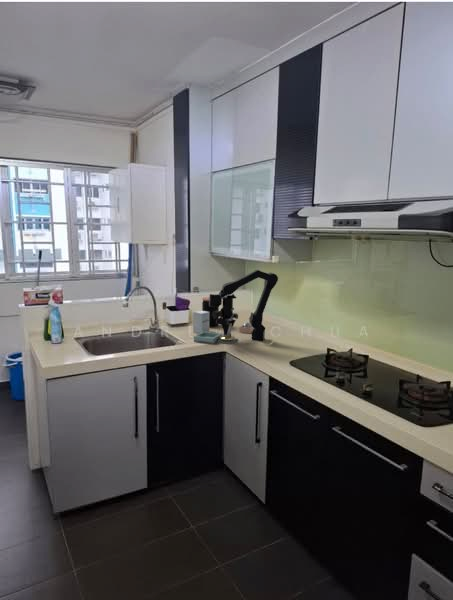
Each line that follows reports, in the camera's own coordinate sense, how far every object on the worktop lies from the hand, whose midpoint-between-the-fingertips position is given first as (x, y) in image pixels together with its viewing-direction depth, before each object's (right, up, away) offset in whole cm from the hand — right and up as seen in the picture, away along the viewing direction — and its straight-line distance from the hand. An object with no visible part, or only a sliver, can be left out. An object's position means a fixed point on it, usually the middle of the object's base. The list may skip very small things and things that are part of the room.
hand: (227, 333), depth 223 cm
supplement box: (-16, -1, +21) cm, 26 cm away
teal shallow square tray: (-11, -4, +3) cm, 12 cm away
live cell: (0, -2, 0) cm, 2 cm away
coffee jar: (-11, +2, +38) cm, 40 cm away
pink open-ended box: (+12, -1, +20) cm, 24 cm away
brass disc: (0, -3, +1) cm, 3 cm away
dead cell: (+12, -1, +20) cm, 24 cm away
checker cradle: (0, -4, +1) cm, 4 cm away
